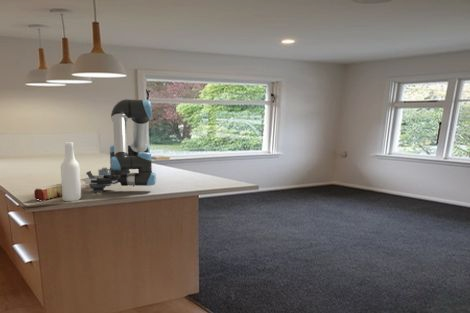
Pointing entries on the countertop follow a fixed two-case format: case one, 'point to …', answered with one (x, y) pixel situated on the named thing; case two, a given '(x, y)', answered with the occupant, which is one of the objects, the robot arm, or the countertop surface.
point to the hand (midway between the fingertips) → (88, 179)
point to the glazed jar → (105, 173)
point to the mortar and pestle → (94, 186)
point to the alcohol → (70, 175)
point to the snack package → (48, 192)
